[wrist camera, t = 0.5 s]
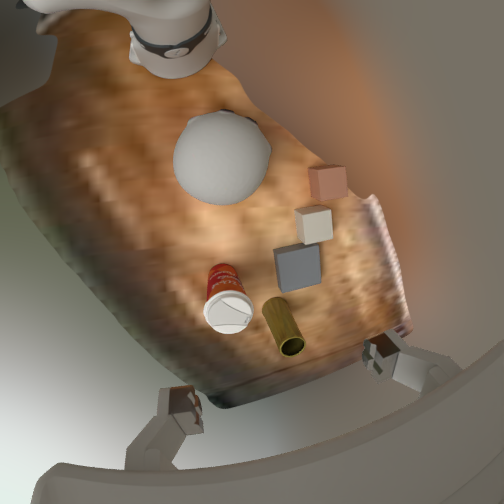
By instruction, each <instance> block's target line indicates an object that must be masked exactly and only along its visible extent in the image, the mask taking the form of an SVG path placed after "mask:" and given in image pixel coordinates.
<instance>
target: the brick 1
mask: <svg viewBox="0 0 504 504" xmlns="http://www.w3.org/2000/svg"><path fill="white" fill-rule="evenodd" d="M308 173H309V181H310V190H311V197H313V198H315V199H317V200H319V201H326V200H331V199H337V198H343V197H348V188H347V176H346V167H345V166H339V165H327V166H319V167H312V168H308Z"/></svg>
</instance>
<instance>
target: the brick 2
mask: <svg viewBox="0 0 504 504" xmlns="http://www.w3.org/2000/svg"><path fill="white" fill-rule="evenodd" d="M294 212H295V221H296V229H297V237H298V238H299V239H300V240H301V241H302V242H303V243H304V244H305V245H307V244H312V243H316V242H321V241H325V240H329V239H333V229H332V215H331V209H329V208H327V207H325V206H323V205H316V206H311V207H305V208H300V209H295V210H294Z"/></svg>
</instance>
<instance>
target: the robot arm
mask: <svg viewBox="0 0 504 504" xmlns="http://www.w3.org/2000/svg"><path fill="white" fill-rule="evenodd" d="M23 1H24V3H25V4H26V5H27V6H29V7H30V8H32V9H33V10H36V11H38V12H41V13H45V14H51V13H55V12H60V11H65V10H72V9H97V10H104V11H109V12H113V13H116V14H119V15H122V16H124V17H125V18H126V19H127V20H128V21H129V22H130V24H131V26H132V31H130V37H131V38H132V39H131V46H130V54H129V59H130V61H131V62H132V63H135V64H138V65H142V66H144V67H145V68H146V69H147V70H149V71H150V72H151V73H153V74H154V75H157V76H159V77H162V78H169V79H176V78H183V77H186V76H189V75H192V74H194V73H196V72H198V71H199V70H201V69H202V68H203V67H204V66H205V65H206V64H207V63H208V62H209V61H210V60H211V58H212V56H213V54H214V53H215V51H216V50H217V49H218V48H220V47H221V46H222V45H224V44H225V43H226V41H227V36H226V33H225V31H224V29H223V27H222V25H221V23H220V21H219V19H218V16H217V14H216V12H215V10H214V8H213V6H212V4H211V2H210V0H23ZM219 33H220V34H221V35H219ZM363 346H364V347H365V349H364V351H363V352H362V359H363V363H364V365H365V367H366V368H367V369H368V370H371V371H372V374H371V375H372V377H373V378H374V380H375V381H376V382H377V384H379V383H381V382H383V381H385V380H388V379H390V378H392V379H394V380H396V381H398V382H400V383H402V384H404V385H406V386H409V387H410V388H413V389H415V390H417V391H419V392H420V395H419V397H418V399H417V400H416V401H414V402H412V403H410V404H408V405H406V406H405V407H403V408H401V409H399V410H397V411H395V412H393V413H391V414H389V415H387V416H385V417H383V418H381V419H379V420H376V421H374V422H372V423H370V424H368V425H365V426H363V427H360V428H358V429H356V430H353V431H351V432H348V433H346V434H343V435H340V436H338V437H335V438H332V439H329V440H326V441H324V442H321V443H318V444H315V445H311V446H308V447H305V448H302V449H298V450H295V451H291V452H287V453H284V454H280V455H276V456H271V457H267V458H262V459H258V460H253V461H248V462H243V463H237V464H231V465H224V466H216V467H208V468H198V469H185V470H178V469H177V468H176V467H175V466H174V465H173V464H172V463H171V462H172V460H173V459H174V457H175V455H176V453H177V452H178V450H179V448H180V447H181V445H182V443H183V441H184V440H185V438H186V435H193V434H200V433H204V429H203V421H202V419H201V415H202V407H201V403H200V400H199V397H198V396H197V395H195V389H194V387H193V385H186V386H178V387H171V388H161V389H160V390H159V397H158V407H157V416H154V417H153V418H152V419H151V420H150V421H149V423H148V424H147V425H146V427H145V428H144V429H143V430H142V431H141V432H140V433H139V435H138V436H137V437H136V438H135V439H134V440H133V442H132V443H131V444H130V445H129V446H128V448H127V451H126V459H125V469H124V470H117V469H104V468H95V467H87V466H80V465H74V464H68V463H57V464H56V465H54V466H53V467H52V468H50V469H49V470H48V471H47V472H46V473H44V474H43V475H42V476H41V477H40V478H39V480H38V481H37V483H36V486H35V488H34V492H33V495H32V500H31V504H504V339H502V340H501V341H500V342H498V343H497V344H496V345H495V346H494V347H493V348H491V349H490V350H489V351H488V352H487V353H485V354H484V355H483V356H481V357H480V358H479V359H478V360H477V361H475V362H474V363H472V364H471V365H470V366H468V367H467V368H466V369H464V370H462V369H461V368H460V367H459V366H458V365H457V364H456V363H455V362H454V361H453V360H452V359H451V358H450V357H449V356H445V355H441V354H438V353H434V352H431V351H428V350H424V349H421V348H417V347H414V346H411V347H409V346H408V345H407V344H406V342H405V341H404V340H403V339H402V338H401V337H400V336H399V335H398V334H397V333H396V332H395V331H394V330H393V329H389V330H387V331H384V332H382V333H379V334H377V335H374V336H372V337H369V338H367V339H365V340H364V344H363Z"/></svg>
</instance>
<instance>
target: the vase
mask: <svg viewBox="0 0 504 504" xmlns="http://www.w3.org/2000/svg"><path fill="white" fill-rule="evenodd" d="M262 313H263V315H264V317H265V319H266V321H267V324H268V326H269V327H270V330H271V332H272V334H273V337H274V339H275V341H276V344H277V346H278V349H279V352H280V353H281V354H282V355H283V356H285V357H294V356H297V355H299V354H300V353H301V352H302V351H303V350H304V349H305V346H306V342H305V340H304V338H303V336H302V334H301V332H300V330H299V328H298V326H297V324H296V322H295V320H294V318H293V316H292V314H291V312H290V310H289V307H288V304H287V302H286V301H285V300H284V299H282V298H272V299H270V300H268V301H267V302H266V303H265V304H264V305H263V308H262Z"/></svg>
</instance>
